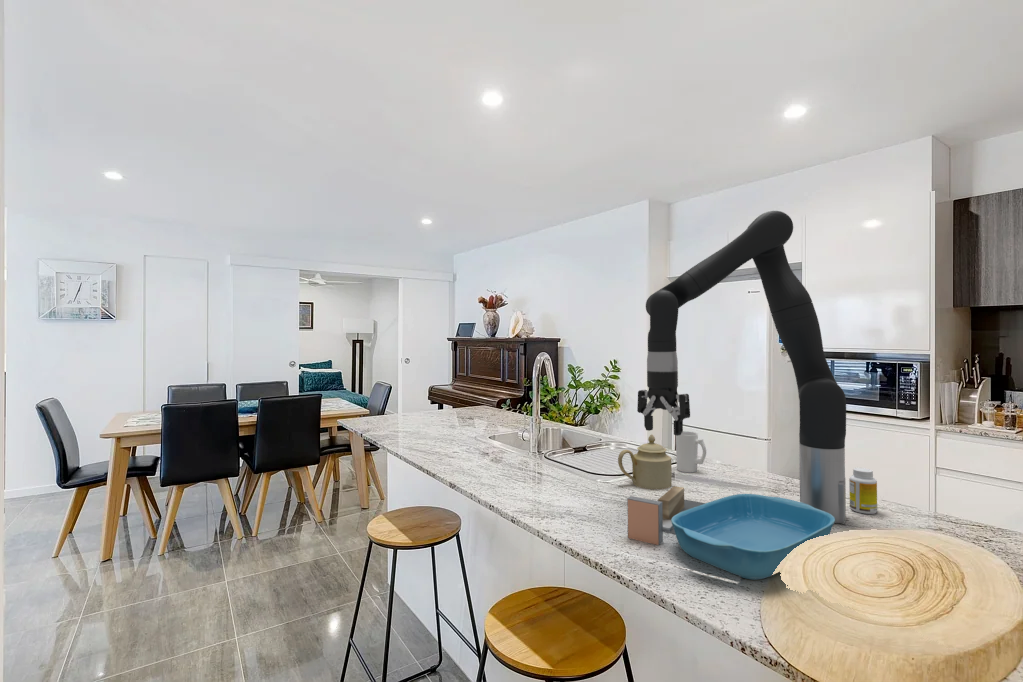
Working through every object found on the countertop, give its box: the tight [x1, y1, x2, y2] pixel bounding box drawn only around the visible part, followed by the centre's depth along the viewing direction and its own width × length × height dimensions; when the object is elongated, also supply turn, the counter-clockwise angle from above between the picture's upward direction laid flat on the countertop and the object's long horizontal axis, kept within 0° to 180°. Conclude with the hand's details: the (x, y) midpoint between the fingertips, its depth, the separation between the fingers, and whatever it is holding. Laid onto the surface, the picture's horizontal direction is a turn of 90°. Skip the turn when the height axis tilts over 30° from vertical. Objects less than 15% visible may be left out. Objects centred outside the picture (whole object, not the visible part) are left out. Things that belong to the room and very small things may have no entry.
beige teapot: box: [617, 433, 673, 491], centre depth 143 cm, size 15×11×15 cm
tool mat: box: [663, 498, 706, 536], centre depth 120 cm, size 12×24×1 cm, turn 144°
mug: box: [675, 430, 707, 474], centre depth 158 cm, size 10×7×12 cm, turn 39°
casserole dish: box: [671, 493, 835, 581], centre depth 101 cm, size 37×22×7 cm, turn 126°
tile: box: [626, 495, 664, 546], centre depth 105 cm, size 7×2×9 cm, turn 54°
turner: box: [657, 485, 685, 531], centre depth 118 cm, size 6×17×5 cm, turn 144°
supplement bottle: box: [848, 467, 878, 515], centre depth 121 cm, size 6×6×10 cm
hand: (663, 432), depth 126 cm, fingers open, 8 cm apart
